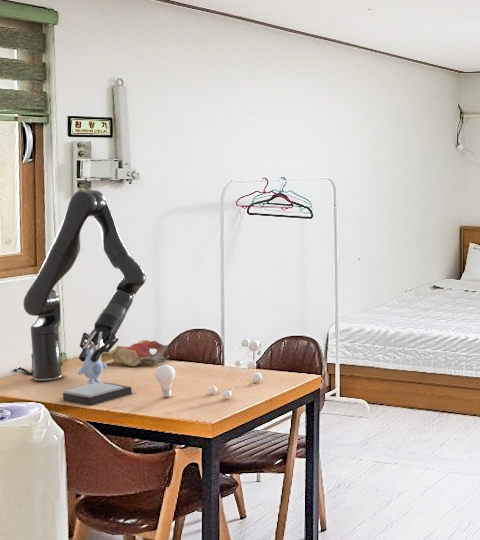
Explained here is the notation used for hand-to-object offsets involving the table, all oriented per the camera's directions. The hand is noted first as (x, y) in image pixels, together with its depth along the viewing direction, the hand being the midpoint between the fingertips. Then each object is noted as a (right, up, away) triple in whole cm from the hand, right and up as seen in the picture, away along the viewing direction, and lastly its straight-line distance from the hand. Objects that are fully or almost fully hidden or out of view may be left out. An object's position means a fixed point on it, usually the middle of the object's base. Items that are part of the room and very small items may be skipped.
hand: (87, 360), depth 290 cm
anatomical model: (-5, -7, +57) cm, 58 cm away
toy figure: (+1, -8, +3) cm, 9 cm away
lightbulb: (+26, -13, +2) cm, 29 cm away
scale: (+2, -13, +5) cm, 14 cm away
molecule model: (+48, -11, +10) cm, 50 cm away
